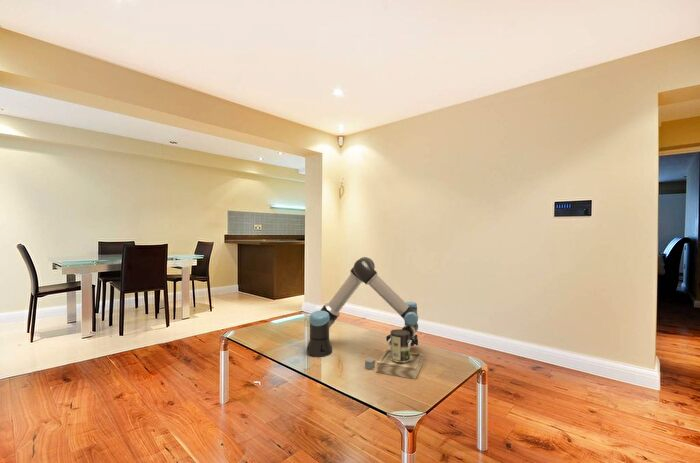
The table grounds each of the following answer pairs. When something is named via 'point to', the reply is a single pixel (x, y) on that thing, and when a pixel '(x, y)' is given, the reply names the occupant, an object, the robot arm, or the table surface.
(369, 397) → the table surface
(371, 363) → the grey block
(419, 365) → the light wood tray
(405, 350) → the coffee can
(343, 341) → the table surface
